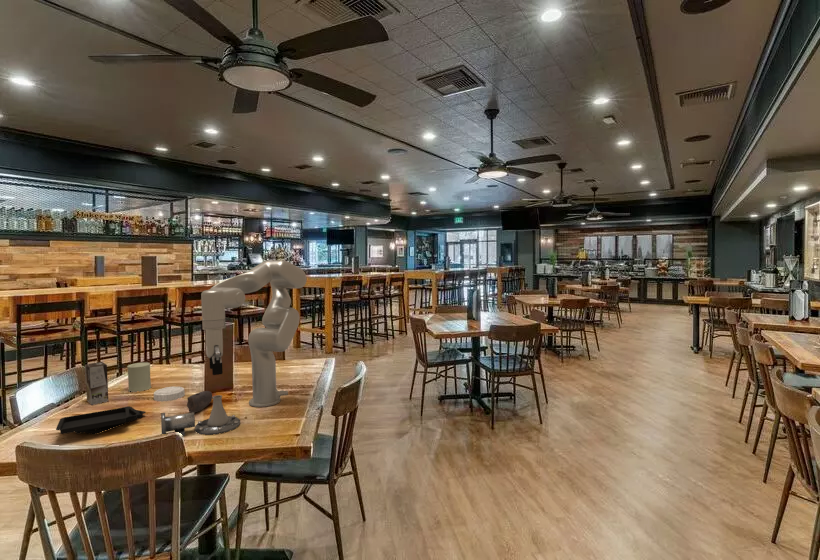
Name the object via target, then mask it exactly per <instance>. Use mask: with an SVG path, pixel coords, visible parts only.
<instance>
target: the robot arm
mask: <svg viewBox="0 0 820 560" xmlns="http://www.w3.org/2000/svg"><path fill="white" fill-rule="evenodd" d="M268 283H269V284H270V287H271V291H272V294H271V295H272V296H271V299H270V301H269V303H268V305H267V307H266V308H265V309H266V310H265V312H264V314H263V316H262V318H261V322H262V325H263V326H264V327H257V328H254V329H253V330H251V331H250V333H249V334H248V337H247V338H248V339H247V342H248V346H249V351H250V356H251V358H250V359H251V378H252V379H251V380H252V383H251V384H252V398H251V399H249V401H248V404H249V405H250V406H251V407H254V408H264V407H265V408H266V407H270V406H275V405H277V404H279V403H280V402H281V397H282V396H283V397H284V396H289V391H288V390H283V389H282V390H278V389H277V369H276V368H277V367H276V365H277V362H276V357H275V355H274V352H277V353H278V352H279V353H281V352H285V351H287V349H288V348H289V347H290V345H291V343H292V341H293V338H294V337H295V334H296V331H297V329H298V327H299V324H300V319H301V318H300V313H299V311H298V310H297V309H296V308H294V307H291V304H292V299H291V296H290V294H289V292H288V290H287V289H302V288H303V287H305V285H306V284H307V274H306V272H305V271H304V270H303V269H302V268H300V267H298V266H297V265H295V264H293V263H292V262H289V261H287V260H284V259H283V260H281V259H278V260H277V259H276V260H271V259H268V260H264V261H262V262H260V263H259V264H257V265H256V266H254V267H253V268H251V269H250V270H248V271H246V272H243V273H241V274H238V275H236V276H232V277H229V278H227V279H226V278H225V279H224V280H222V281H219V282H218V283H217V284H214V285H213V286H212V287H210V289H207V290H203V291H202V292H201V294H200V295H201V297H200V299H201V303H200V304H201V316H202V317H201V320H202V330H203V331H205V354H206V357H207V358H209V369H210V370H212V375H213V376H217V375H223V361H222V357H223V355H224V340H223V338H224V337H223V329H226V327H227V325H226V309H236V308H239V307H241V306H243V304H244V303H245V302H246V294H250V293H254V292H258V291H259V290H261V289H262V288H263V287H265V286H266V285H268Z"/></svg>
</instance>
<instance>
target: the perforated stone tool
mask: <svg viewBox="0 0 820 560" xmlns="http://www.w3.org/2000/svg"><path fill="white" fill-rule="evenodd" d="M212 397H213V393H212V391H210V390H202V391H199V392H195V394H191V395H190V396H187V402H186V403H187V404H186V408H187V409H188V413H192V412H194V414H195V413H199V412H200V411H202V410H203V409H205V408H206V407H208V406H209V405H210V404H211V402H212V401H213V399H212Z"/></svg>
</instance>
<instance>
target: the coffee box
mask: <svg viewBox="0 0 820 560" xmlns="http://www.w3.org/2000/svg"><path fill="white" fill-rule="evenodd" d="M84 375H85V389H86V402H88V403H89V404H90V405H91V406H94V405H98V403H99V404H103V403H102V402H104V403H107V401H108V402H109V382H108V380H109V379H108V365H107V364H106V363H104V362H103V361H99V362H93V363H87V364H84Z"/></svg>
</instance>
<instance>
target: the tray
mask: <svg viewBox="0 0 820 560" xmlns="http://www.w3.org/2000/svg"><path fill="white" fill-rule="evenodd" d="M146 413H147V411H145V410H141V409H140V410H139V409H135V408H134V407H132V406H130V405H129V406H122V407H119V408H111V409H106V410H100V411H93V412H89V413H84V414H83V413H82V414H75V415H69V416H66V417H61V418H60V419H59V421H58V424H57V425H56V428H55V430H56V431H59V432H60V434H61V435H65V434H71V433H75V434H78V435H79V434H88V433H90V435H98V434H97V433H99V434H100V432H102V431H104V432H106V431H105V430H107V431H109V430H108V429H110V428H112V429H114V428H113V427H115V428H117V427H116V426H118V427H120V426H123V425H125V423H126V424H128V422H129V423H131V422H134V421H137V420H139V419H142V418H143V417H144V415H145V414H146ZM122 424H123V425H122ZM119 425H120V426H119ZM110 430H111V429H110ZM84 432H85V433H84ZM102 433H103V432H102Z"/></svg>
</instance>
